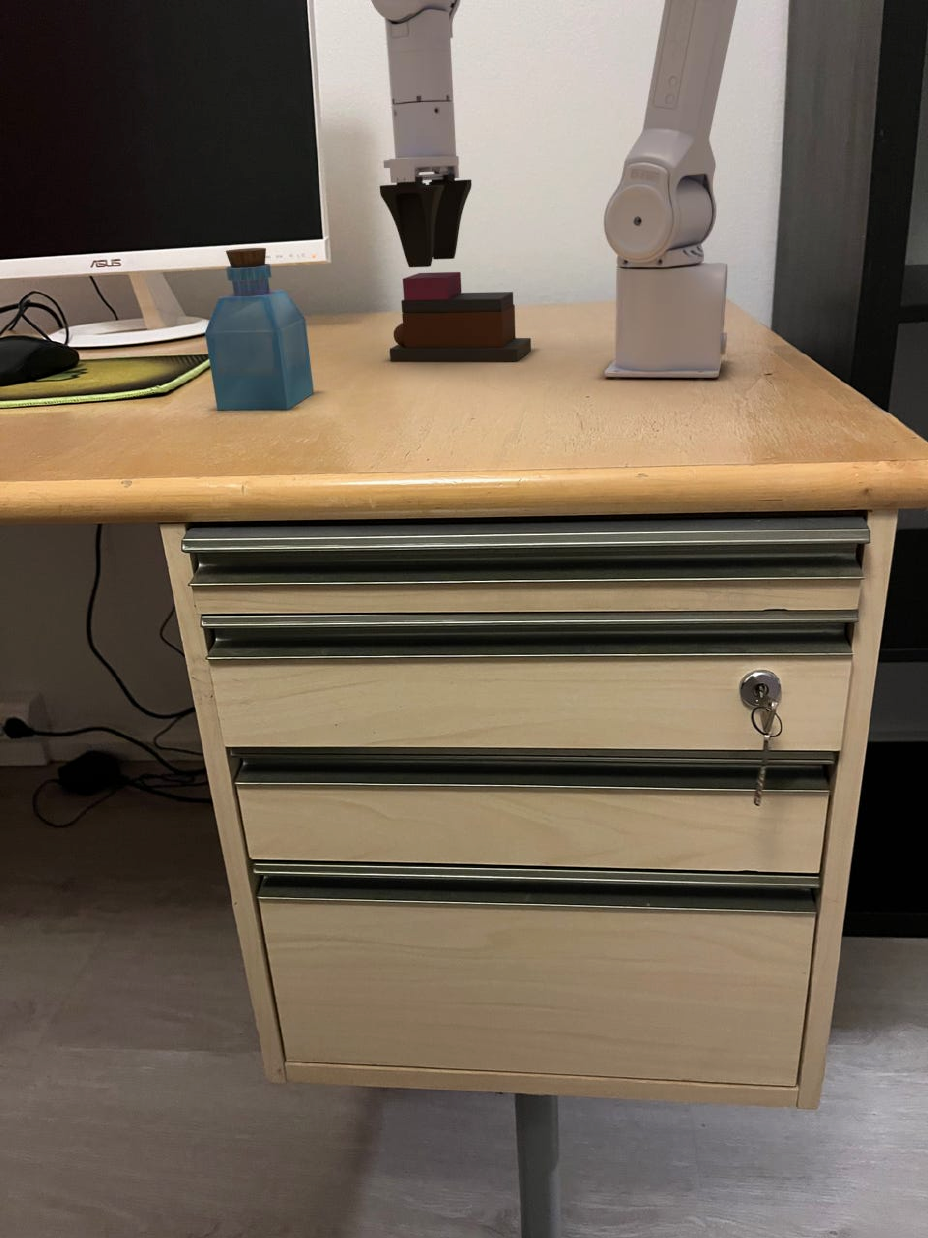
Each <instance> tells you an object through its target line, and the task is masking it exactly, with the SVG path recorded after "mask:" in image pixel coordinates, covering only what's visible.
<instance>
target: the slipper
mask: <svg viewBox="0 0 928 1238" xmlns="http://www.w3.org/2000/svg"><path fill="white" fill-rule="evenodd" d="M402 291H403V299H402V300H401V301H400V302H401V313H402V314H403V313H454V312H502V311H503V310H505V309H507V308H508V307H510V306H512V305H513V304H514V292H513V291H503V292H502V291H500V292H499V291H498V292H495V291H493V292H462V275H461V271H443V272H441V271H439V272H438V271H437V272H418V273H415V274H412V275H409V276H407V277H406V276H405V277H404V278H402Z"/></svg>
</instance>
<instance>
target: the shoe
mask: <svg viewBox="0 0 928 1238" xmlns="http://www.w3.org/2000/svg"><path fill="white" fill-rule="evenodd" d="M401 316H402V318H401V319H402V323H400V324H398V325H397V326H396V327H395V328H394V330H393V340H394V342H395V343H396V345H395V346H392V347H391V348H389V359H390V362H518V361H520V360H521V359H522V358H523V357H525V356H526V355H527V354H528V353H530V351H532V338H531V337H516V304H514V303H513V305H512V306H510V307H508V308H507V309H505V310H503V311H502V312H454V313H402V314H401Z"/></svg>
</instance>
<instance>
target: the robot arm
mask: <svg viewBox="0 0 928 1238" xmlns="http://www.w3.org/2000/svg"><path fill="white" fill-rule="evenodd" d="M738 1H739V0H664V6H663V11H662V15H661V22H660V26H659V32H658V39H657V45H656V51H655V56H654V61H653V68H652V73H651V78H650V85H649V91H648V97H647V100H646V101H647V102H646V108H645V114H644V119H643V125H642V130H641V132H640V134H639V136H638V137H637V139H636V141H635V143H634V144H633V146H632V147H631V148H630V150H629V152H628V154H627V156H626V157H625V159H624V162H623V168H622V173H621V177H620V180H619V183H618V184H617V187H616V188H615V190H614V191H613V193H612V194H611V196H610V198H608V202H607V204H606V206H605V210H604V215H603V231H604V234H605V238H606V242H607V243H608V245H609V247H610V248H611V250H612V251H613V252H614V253H615V254H616V255H617V257H616V264H617V265H616V273H615V274H616V275H615V276H616V277H615V278H616V279H615V282H616V283H615V284H616V285H615V295H616V296H615V333H614V334H615V335H614V340H615V341H614V344H615V345H614V359H613V360H612V362H611V363H610V364H609V365H608V367H607V368H606V369H605V370H604V377H606V378H685V379H686V378H687V379H689V378H691V379H692V378H695V379H697V378H699V379H704V378H706V379H707V378H708V379H714V378H718V377H719V375H720V371H721V367H722V363H723V355H726V353H727V339H728V333H727V332H725V317H726V304H727V287H728V264H727V263H723V262H714V263H713V262H704V260H705V253H704V250H703V249H704V248H703V247H702V245H703V244H704V242H705V241H706V240H707V239H708V237H710V235H711V233H712V231H713V228H714V226H715V224H716V219H717V203H716V197H715V194H714V178H715V177H714V176H715V172H716V168H717V164H716V159H715V156H714V152H713V149H712V144H711V141H710V135H711V131H712V127H713V122H714V116H715V112H716V107H717V102H718V97H719V92H720V88H721V83H722V79H723V73H724V70H725V69H724V68H725V64H726V60H727V59H726V58H727V55H728V54H727V53H728V49H729V44H730V39H731V36H732V35H731V34H732V31H733V25H734V20H735V15H736V10H737V5H738ZM370 2H371V3H372V5H373V7H374V9H375V10H376V12H377V13H378V14H379V15H380V16H381V17H383V18H384V29H385V30H384V31H385V41H386V43H385V44H386V57H387V70H388V71H387V72H388V83H389V96H390V97H389V98H390V105H391V106H390V108H391V109H390V110H391V121H392V134H393V146H394V158H389V159H384V160H383V161H382V163H383V169H389V174H390V175H389V176H390V183H391V184H383V185H379V194H380V197H381V199H382V200H383V202H384V203H385V205H386V207H387V209H388V211H389V212H390V215H391V217H392V220H393V221H394V224H395V227H396V230H397V233H398V237H399V240H400V243H401V247H402V251H403V254H404V258H405V260H406V261H405V262H406V263H407V266H408V268H429V267H432V264H433V260H454V259H455V257H456V254H457V248H458V247H457V246H458V241H459V233H460V226H461V222H462V221H461V220H462V215H463V212H464V208H465V204H466V202H467V199H468V197H469V194H470V192H471V190H472V179H459V178H460V169H459V167H460V165H459V164H460V159H459V158H460V157H459V155H457V145H456V144H457V142H456V141H457V140H456V123H455V122H456V121H455V102H454V84H453V64H452V63H453V61H452V44H451V43H452V42H451V39H453V38H454V33H453V31H454V30H453V24H454V23H453V22H454V18H455V15H456V13H457V12H458V9H459V7H460V3H461V0H371V1H370ZM420 173H426V174H420ZM427 173H428V174H427ZM424 181H428V184H427V183H426V182H424Z"/></svg>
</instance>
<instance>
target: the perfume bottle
mask: <svg viewBox="0 0 928 1238" xmlns="http://www.w3.org/2000/svg"><path fill="white" fill-rule="evenodd" d="M225 253H226V256H227V259H228V262H229V264H230V266H227V267H226V268H225V269H226V276H227V280H228V282H231V285H232V290H233V291H232V293H228V294H226V295H222V296H219V297H218V298H217V301H216V303H215V306H214V309H213V310H212V312H211V315H210V318H209V321H208V323H207V325H206V328H205V330H204V335H205V342H206V348H207V355H208V361H209V368H210V374H211V379H212V386H213V391H214V392H213V393H214V397H215V404H216V410H217V411H286V410H287V411H288V410H290V409H291V408H293V407H295V406H296V405H298V404H299V403H301V402H302V401H304V400H306V399H307V398H309V397H311V396H312V395H314V393H315V390H314V381H313V373H312V364H311V355H310V348H309V346H310V345H309V338H308V331H307V322H306V318H305V316H304V315H303V313H302V312H301V311H300V309H299V308H298V307H297V305H296V304H295V303H294V301H293V300H292V298H291V296H289V294H288V293H287V292H286V290H285V289H271V290H270V282H269V279H270V278H272V270H271V269H272V268H271V264H270V263H266V255H267V248H266V247H246V248H236V249H235V248H234V249H227V250H225Z"/></svg>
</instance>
